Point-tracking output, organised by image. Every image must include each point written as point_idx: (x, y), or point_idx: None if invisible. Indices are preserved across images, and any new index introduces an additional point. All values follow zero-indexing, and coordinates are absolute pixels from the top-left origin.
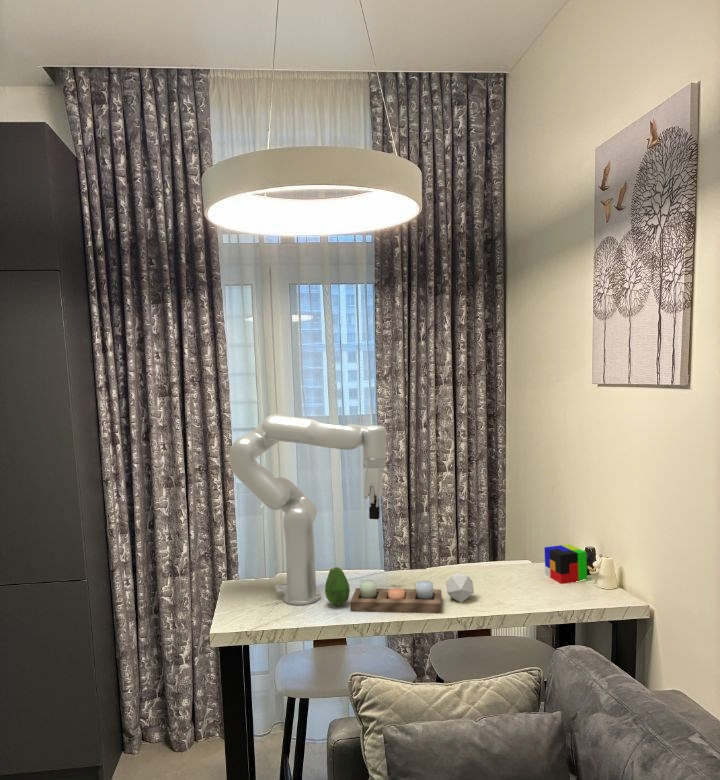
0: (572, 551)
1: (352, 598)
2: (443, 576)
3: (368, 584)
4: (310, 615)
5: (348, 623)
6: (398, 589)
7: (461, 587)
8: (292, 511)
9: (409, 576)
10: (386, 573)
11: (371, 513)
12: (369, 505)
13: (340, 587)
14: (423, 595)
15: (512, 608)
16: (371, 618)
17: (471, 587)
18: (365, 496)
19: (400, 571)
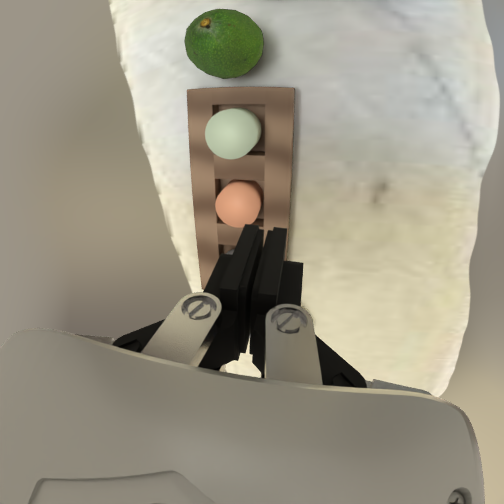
0: None
1: (210, 90)
2: (417, 298)
3: (213, 138)
4: (168, 9)
5: (134, 102)
6: (246, 212)
7: (249, 337)
8: None
9: (437, 229)
10: (468, 174)
11: (214, 267)
12: (177, 305)
13: (190, 59)
14: None
15: (242, 367)
16: (163, 144)
17: None
18: (5, 351)
19: (473, 210)
